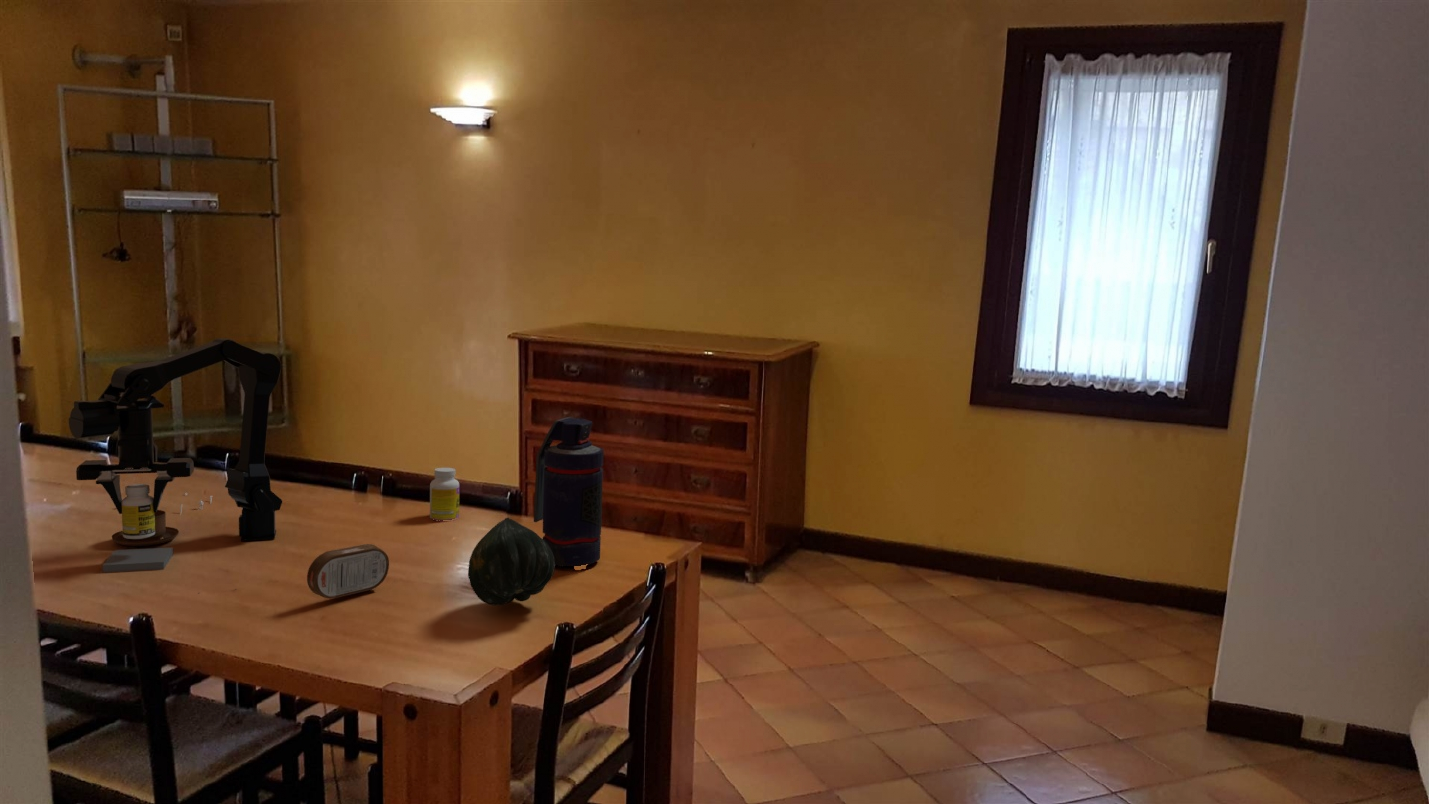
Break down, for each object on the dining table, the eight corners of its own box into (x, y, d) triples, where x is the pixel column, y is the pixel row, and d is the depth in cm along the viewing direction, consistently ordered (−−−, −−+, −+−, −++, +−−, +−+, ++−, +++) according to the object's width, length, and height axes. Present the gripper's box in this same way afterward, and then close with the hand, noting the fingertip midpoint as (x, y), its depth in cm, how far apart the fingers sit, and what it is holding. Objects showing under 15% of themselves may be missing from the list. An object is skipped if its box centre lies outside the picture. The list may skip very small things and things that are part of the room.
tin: (382, 582, 182) (382, 539, 181) (391, 586, 180) (392, 542, 179) (305, 600, 171) (305, 554, 170) (315, 604, 169) (314, 558, 168)
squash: (453, 602, 173) (454, 520, 171) (524, 586, 183) (526, 509, 181) (496, 624, 163) (498, 538, 161) (569, 606, 173) (571, 525, 171)
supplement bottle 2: (460, 526, 225) (461, 471, 223) (431, 527, 222) (431, 472, 221) (457, 519, 231) (457, 466, 229) (428, 520, 228) (428, 467, 227)
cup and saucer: (118, 536, 204) (117, 508, 203) (182, 533, 209) (182, 505, 208) (106, 552, 193) (105, 522, 192) (174, 548, 198) (173, 519, 197)
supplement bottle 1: (140, 540, 183) (138, 490, 182) (116, 538, 184) (113, 488, 183) (162, 533, 188) (159, 484, 187) (138, 531, 189) (135, 482, 188)
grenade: (608, 559, 204) (613, 418, 200) (586, 574, 192) (590, 426, 189) (548, 551, 207) (552, 413, 204) (523, 566, 196) (526, 420, 192)
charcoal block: (173, 557, 193) (172, 547, 193) (163, 572, 184) (163, 561, 184) (115, 560, 190) (115, 550, 189) (103, 575, 180) (102, 565, 180)
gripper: (196, 425, 194) (198, 501, 196) (88, 426, 188) (91, 505, 190) (188, 434, 184) (190, 514, 186) (73, 436, 177) (77, 519, 179)
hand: (138, 512), depth 186 cm, fingers closed on supplement bottle 1, 5 cm apart
